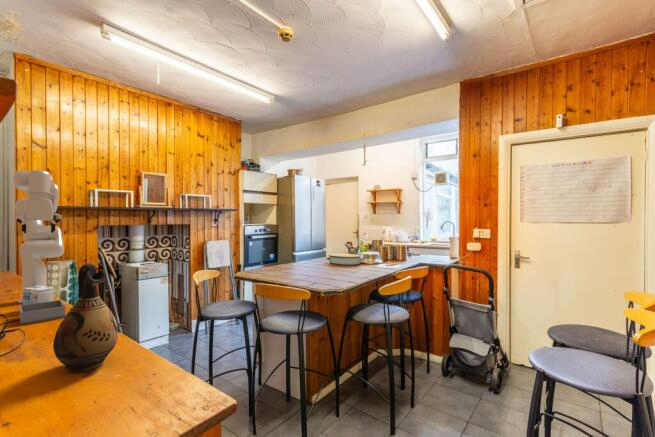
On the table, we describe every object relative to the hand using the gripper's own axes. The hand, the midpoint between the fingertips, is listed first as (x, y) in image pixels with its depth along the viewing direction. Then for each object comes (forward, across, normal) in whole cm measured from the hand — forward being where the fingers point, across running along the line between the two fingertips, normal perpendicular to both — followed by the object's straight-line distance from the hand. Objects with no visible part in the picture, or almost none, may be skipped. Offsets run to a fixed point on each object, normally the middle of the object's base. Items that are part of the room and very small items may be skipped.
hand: (38, 232), depth 151 cm
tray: (+37, 0, +16) cm, 40 cm away
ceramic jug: (+37, -5, +85) cm, 93 cm away
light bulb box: (+37, 0, 0) cm, 37 cm away
